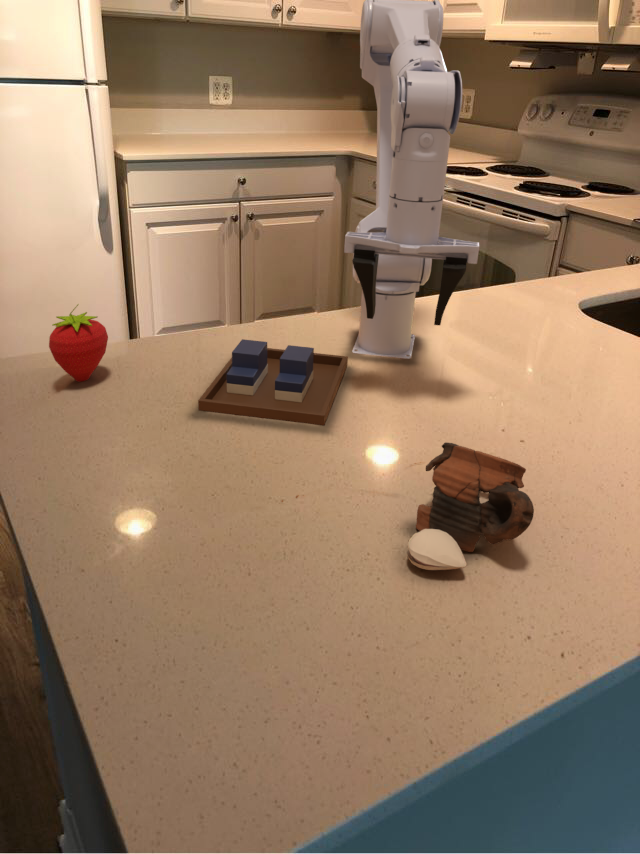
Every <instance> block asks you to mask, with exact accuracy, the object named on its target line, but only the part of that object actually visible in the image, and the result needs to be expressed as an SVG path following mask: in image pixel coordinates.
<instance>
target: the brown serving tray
mask: <svg viewBox="0 0 640 854" xmlns="http://www.w3.org/2000/svg"><path fill="white" fill-rule="evenodd" d="M284 351H285V349H280V348H273V347H272V348H271V347H267V364H268V373H267V374H266V376H265V377H264V379H263V381H262V382H261V384H260V385H259V387H258V389H257V390H256V392H255V393H254V395H253V396H252V395H244V394H235V393H227V373H228V372H229V370H230V369H231V368H232V357H231V358H230V359H229V360H228V362H226V364H225V365H224V367H223V368H222V369H221V371H220V372H219V373H218V374H217V376H216V377H215V378H214V379H213V380H212V381H211V383H210V384H209V386H208V387H207V388H206V390H205V391H204V392H203V393H202V395H201V396H200V397H199V399H198V400H197V404H198V407H197V408H198V411H201V412H206V413H207V412H208V413H216V414H223V415H224V414H226V415H233V416H240V417H241V416H243V417H250V418H258V419H264V420H265V419H266V420H273V421H281V422H282V421H283V422H290V423H298V424H308V425H315V426H325V425H326V422H327V419H328V418H329V414H330V413H331V412H330V411H331V409H332V405H333V404H334V401H335V399H336V397H337V393H338V391H339V388H340V385H341V383H342V381H343V378H344V375H345V373H346V370H347V368H348V361H349V356H347V355H339V354H338V355H337V354H328V353H318V352H314V357H313V380H312V382H311V384H310V386H309V388H308V390H307V392H306V394H305V396H304V399H303V401H302V402H293V401H284V400H276V399H275V380H276V378H277V376H278V375H279V373H280V358H281V356H282V354H283V353H284Z"/></svg>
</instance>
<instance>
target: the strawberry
mask: <svg viewBox="0 0 640 854" xmlns="http://www.w3.org/2000/svg"><path fill="white" fill-rule="evenodd" d="M78 306H79V303H78V304H76V306H75V307H74V308H73V309H72V310H71V312H70V313H69V314H68V315H61V316H59V315H58V316H55V318H56V319H59V320H62V321H59V322H55V323H52V326H54V327H55V328H54V329H53V331H52V332H51V333H50V334H49V337H48V338H49V339H48V340H49V341H48V348H49V351H50V353H51V355H52V358H53V359H54V361H55V363H57V364H58V366H59V367H60V368H62V370H63V371H64V372H65V373H66V374H68V376H70V377H72V378H73V379H74V380H75V381H76V382H86V381H88V380H89V379H90V378H91V376H92V374H93V373H94V371H95V370H96V369H97V368H98V366H99V365H100V362H101V361H102V359H103V358H104V356H105V354H106V352H107V346H108V341H109V335H108V332H107V327H106V326H105V325H104V324H102V323H101V322H99V321H98V320H95V319H98V316H97V315H96V316H94V315H87V314H88V312H87V311H85V312H82V313H80V314H77V315H75V314H72V313H73V312H74V311H75V310H76V309H77V308H78Z"/></svg>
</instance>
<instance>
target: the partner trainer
mask: <svg viewBox="0 0 640 854" xmlns="http://www.w3.org/2000/svg"><path fill="white" fill-rule="evenodd" d="M267 348H268V341H262V340H252V339H243V338H242V339H241V340H240V341H239V342H238V344H237V345H236V346H235V348H234V349H233V350H232V351H231V358H232V368H231V369H230V370H229V372H228V373H227V393H235V394H244V395H252V396H253V395H254V393H255V392H256V390H257V389H258V387H259V385H260V384H261V382H262V381H263V379H264V377H265V376H266V374H267V373H268V364H267Z"/></svg>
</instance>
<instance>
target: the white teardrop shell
mask: <svg viewBox="0 0 640 854" xmlns="http://www.w3.org/2000/svg"><path fill="white" fill-rule="evenodd" d="M406 555H407V559H408V560H409V561H410V563H411V564H412V565H414V566H416V567H417V568H419V569H422V570H426V571H447V570H457V569H462V568H465V567H467V562H466V559H465V556H464V553H463V550H461V549H460V548H459V546H458V544H457V542H456V541H455V540H454V539H453V538H452V537H451V536H450V535H449V534H448V533H446V532H444V531H441V530H437V529H423V530H421V531H417V532H415V533H413V535H412V536H411V537H410V538H409V540H408V543H407V550H406Z"/></svg>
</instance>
